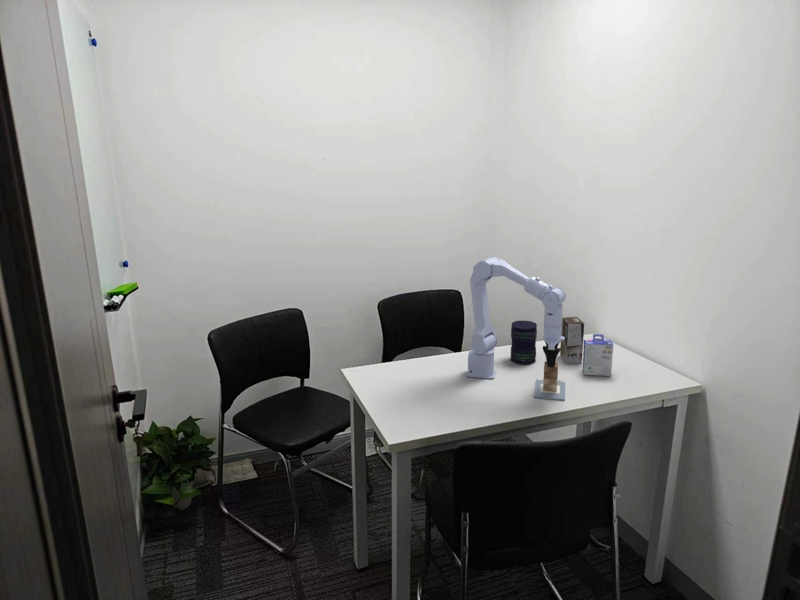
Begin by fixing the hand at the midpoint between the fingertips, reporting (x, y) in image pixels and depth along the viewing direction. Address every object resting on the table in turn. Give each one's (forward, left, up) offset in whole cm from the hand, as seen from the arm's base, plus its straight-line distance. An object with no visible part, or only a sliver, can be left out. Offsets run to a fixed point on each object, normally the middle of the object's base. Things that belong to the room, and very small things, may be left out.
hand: (551, 362), depth 182 cm
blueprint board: (0, 0, -10) cm, 10 cm away
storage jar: (-11, +26, -11) cm, 30 cm away
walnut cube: (0, 0, -5) cm, 5 cm away
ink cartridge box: (+16, +19, -11) cm, 27 cm away
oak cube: (0, 0, -10) cm, 10 cm away
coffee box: (+7, +31, -11) cm, 34 cm away
